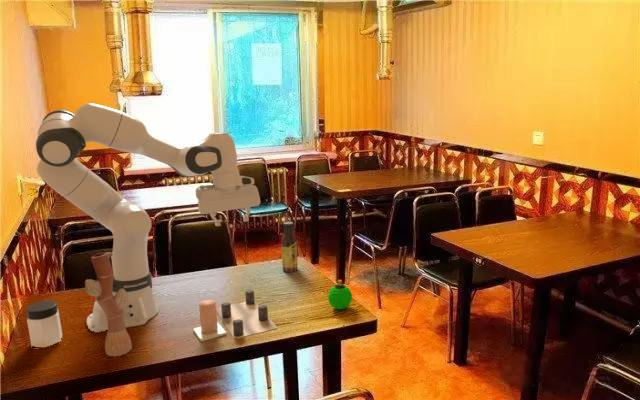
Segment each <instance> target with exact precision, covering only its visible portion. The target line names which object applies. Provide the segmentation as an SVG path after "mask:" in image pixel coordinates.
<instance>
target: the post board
mask: <svg viewBox="0 0 640 400" xmlns="http://www.w3.org/2000/svg"><path fill="white" fill-rule="evenodd" d="M244 294H245V301H243V302H237V303H233V304H232V303H230V302H226V301H225V302H223V303H221V304H220V306H219V307H216V313H217V314H218V315H219V317H220V319H221V321H222V322H223V324H224V325H225V326H226V328H227V331H228V332H229V333H230V335H231V337H232V338H233V339H234V340H237V339H240V338H244V337H248V336H253V335H257V334H261V333H265V332H269V331H273V330H277V329H279V327H278V326H277V325H276V324H275V323H274V322H273V321H272V320H271V318H270V317H269V316H268V315H269V313H268V305H259V304H258V303H257V302H256V300H255V291H254V290H252V289H250V290H249V289H248V290H246V291H245V293H244Z"/></svg>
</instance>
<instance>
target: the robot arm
mask: <svg viewBox="0 0 640 400" xmlns="http://www.w3.org/2000/svg"><path fill="white" fill-rule="evenodd" d="M234 141H235V140H234V139H233V137H232V135H230V134H228V133H225V132H211V133H209V134H208V135H207V136H206V137H205V138H204V139H202V140H201V141H198V142H197V143H196V144H193V145H191V146H189V147H188V146H187V147H177V146H174V145H171V144H168V143H166V142H164V141H162V140H159V139H157V138H155V137H153V136H152V135H150V133H149V132H148V131H147V128H146V125H145V124H144V123H143V122H142V121H141V120H139V119H138V118H135V117H134V116H132V115H130V114H128V113H125V112H124V111H121V110H118V109H115V108H112V107H108V106H105V105H101V104H97V103H92V102H87V103H83V104H82V105H81V106H80V107H78V109H77V110H76V111H75V113H72V112H71V111H69V110H65V109H56V110H53V111H50V112H49V113H48V114H46V116H44V118H43V119H42V122H41V124H40V126H39V128H38V131H37V138H36V141H35V150H36V153H37V155H38V157H39V158H40V160H39V162H38V164H37V168H36V169H37V170H36V171H37V174H38V176H39V177H40V178H41V180H43V182H45V183H46V184H47V185H48V186H49V187H50V188H51V189H52V190H54V191H55V192H56V194H59V195H60V196H61V197H63V198H64V199H65V200H66V201H68V202H70V203H71V204H73V205H74V206H75V207H77V208H78V209H79V210H81V211H82V212H84V213H86V214H87V215H88V216H89V217H91V218H93V219H94V220H95V221H96V222H98V223H99V224H101V226H104V227H105V228H106V229H107V230H109V231H110V232H111V233H112V237H113V241H112V242H113V245H112V252H111V253H112V254H113V255H112V256H111V257H110V258H111V266H112V269H113V273H114V277H113V288H112V294H113V296H115V295H116V293H117V292H118V291H119V290H120V289H124V290H125V291H126V293H127V295H128V303H127V305H126V307H125V308H124V309H123V312H124V324H125V328H131V327H136V326H142V325H145V324H146V323H147V322H148V321H149V320H151V319H152V318H154V317H155V316H156V315H157V314H159V307H158V306H157V303H156V300H155V298H154V297H155V296H154V293H153V289H152V288H153V280H152V274H151V272H150V268H149V259H148V239H149V233H150V231H151V229H152V220H151V217H150V215H149V214H148V213H147V211H146V210H145V209H144V208H142V207H141V206H139V205H137V204H135V203H132V201H130V200H128V199H126V198H125V197H123V196H122V195H121V194H120V193H118V192H117V191H116V190H115V189H114V188H113V187H112V186H111V185H110V184H109V183H108V182H106V181H105V179H104V180H103V179H102V177H100V176H99V175H97V174H96V173H94V171H92V170H90V169H89V168H88V167H87V166H85V165H84V164H83V163H81V162H80V161H79V160H78V159H77V157H78V156H79V155H80V154H81V152H83V150H85V148H86V147H87V145H86V143H96V144H100V145H102V146H104V147H107V148H111V149H113V150H117V151H119V152H124V153H130V154H135V155H141V156H145V157H147V158H150V159H151V160H152V159H153V160H155V161H158V162H160V163H163V164H165V165H167V166H169V167H170V168H172V170H173V171H175V173H176V174H177V175H179V176H181V177H183V178H189V179H190V178H194V177H199V176H204V175H207V174H208V173H211V178H212V183H211V184H210V183H209V184H204V185H203V184H202V185H199V187H197V188H196V189H195V196H196V199H197V201H198V202H197V204H198V212H199V213H200V214H201V215H207V214H210V217H211V218H212V220H213V221H214V225H215V227H220V226H222V225H221V220H220V219H217V217H216V216H217V213H221V212H226V211H233V210H241V209H244V210H245V211H246V212H245V215H243V216H242V218H243V219H242V220H243V222H245V223H246V222H249V221H250V220H249V219H250V218H249V216H250V214H251V211H252V208H251V207H259V206H260V204H261V197H260V192H259V189H258V187H257V186H256V185H255V179H254V178H253V177H250V176H245V175H240V172H239V171H240V169H239V168H238V162H237V161H238V154H237V149H236V145H235V142H234ZM86 326H88V327H87V328H88V330H89V329H90V330H89V331H91V332H93V331H94V332H93V333H101V331H102V332H107V331H106V330H108V322H107V316H106V314H105V312H104V311H103V309H102V308H101V307H100V305H99V304H98V302H97V300H96V299H95V301H94V304H93V310H92V313H90V314H89V315H88V316H87V318H86Z"/></svg>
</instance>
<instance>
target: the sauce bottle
mask: <svg viewBox="0 0 640 400" xmlns="http://www.w3.org/2000/svg"><path fill="white" fill-rule="evenodd" d="M282 226H283V235H282V237H281V264H282V265H281V266H282V270H283V271H284V272H286V273H287V272H288V273H292V272H295V271H297V270H298V243H297V238H296V236H295V234H294V222H293V221H285V222H283V223H282Z"/></svg>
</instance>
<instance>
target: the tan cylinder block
mask: <svg viewBox="0 0 640 400" xmlns="http://www.w3.org/2000/svg"><path fill="white" fill-rule="evenodd" d="M198 307H199V320H200V327H201V332H202V333H203V334H212V333H215V332H216V331H217V330H218V327H217V322H218V315H217V314H218V313H217V311H216V308H217V302H216V301H215V300H214V299H205V300H202V301H200V302H199V303H198Z"/></svg>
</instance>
